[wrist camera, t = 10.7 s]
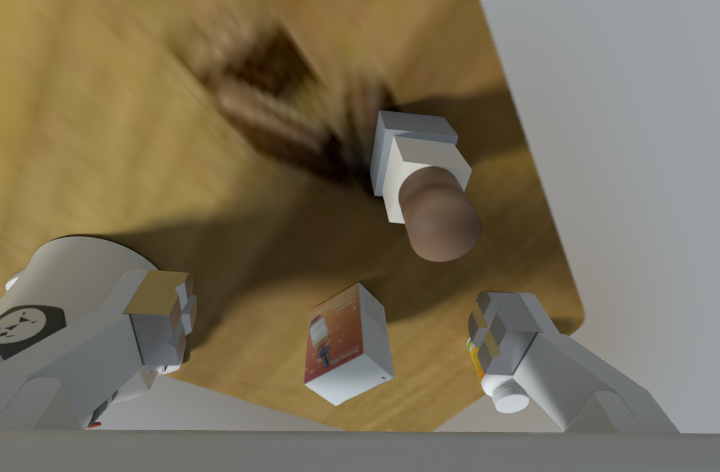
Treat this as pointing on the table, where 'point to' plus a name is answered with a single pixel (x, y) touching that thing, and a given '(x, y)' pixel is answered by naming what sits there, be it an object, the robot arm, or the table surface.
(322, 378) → the small box
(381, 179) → the base block
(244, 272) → the table surface
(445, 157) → the top block
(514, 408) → the supplement bottle
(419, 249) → the walnut cylinder
